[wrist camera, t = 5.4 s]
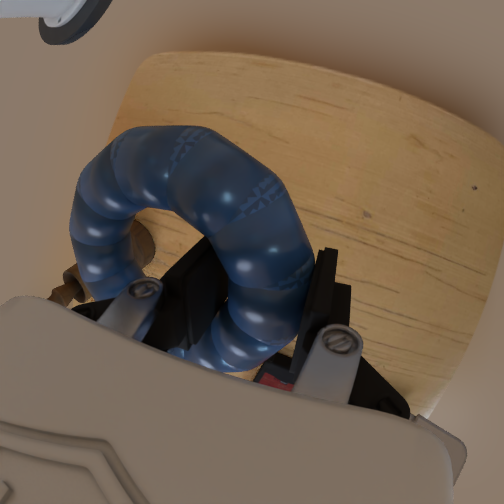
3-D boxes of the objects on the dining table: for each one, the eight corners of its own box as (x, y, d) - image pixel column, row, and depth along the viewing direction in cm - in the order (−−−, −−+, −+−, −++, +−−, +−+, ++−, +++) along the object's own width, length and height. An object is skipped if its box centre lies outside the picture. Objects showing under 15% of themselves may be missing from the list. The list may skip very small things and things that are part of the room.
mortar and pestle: (133, 270, 37) (40, 352, 22) (110, 230, 36) (5, 300, 20) (164, 256, 34) (57, 350, 19) (137, 210, 32) (15, 287, 17)
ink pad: (265, 361, 33) (404, 410, 30) (270, 347, 35) (404, 397, 32) (236, 409, 42) (346, 447, 39) (241, 398, 44) (348, 436, 41)
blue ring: (91, 127, 11) (43, 139, 9) (337, 135, 9) (333, 144, 6) (120, 309, 17) (91, 337, 14) (293, 364, 14) (279, 410, 12)
